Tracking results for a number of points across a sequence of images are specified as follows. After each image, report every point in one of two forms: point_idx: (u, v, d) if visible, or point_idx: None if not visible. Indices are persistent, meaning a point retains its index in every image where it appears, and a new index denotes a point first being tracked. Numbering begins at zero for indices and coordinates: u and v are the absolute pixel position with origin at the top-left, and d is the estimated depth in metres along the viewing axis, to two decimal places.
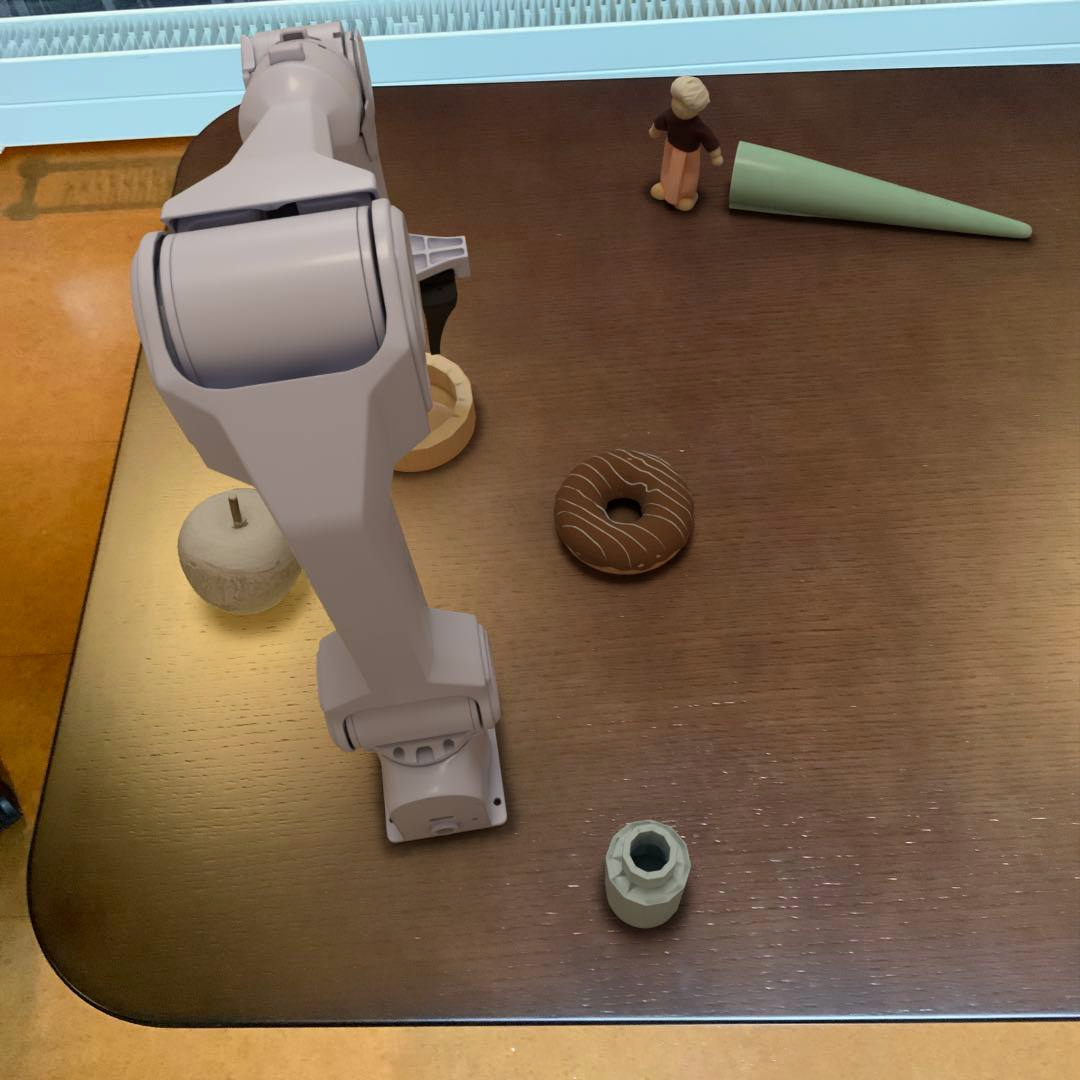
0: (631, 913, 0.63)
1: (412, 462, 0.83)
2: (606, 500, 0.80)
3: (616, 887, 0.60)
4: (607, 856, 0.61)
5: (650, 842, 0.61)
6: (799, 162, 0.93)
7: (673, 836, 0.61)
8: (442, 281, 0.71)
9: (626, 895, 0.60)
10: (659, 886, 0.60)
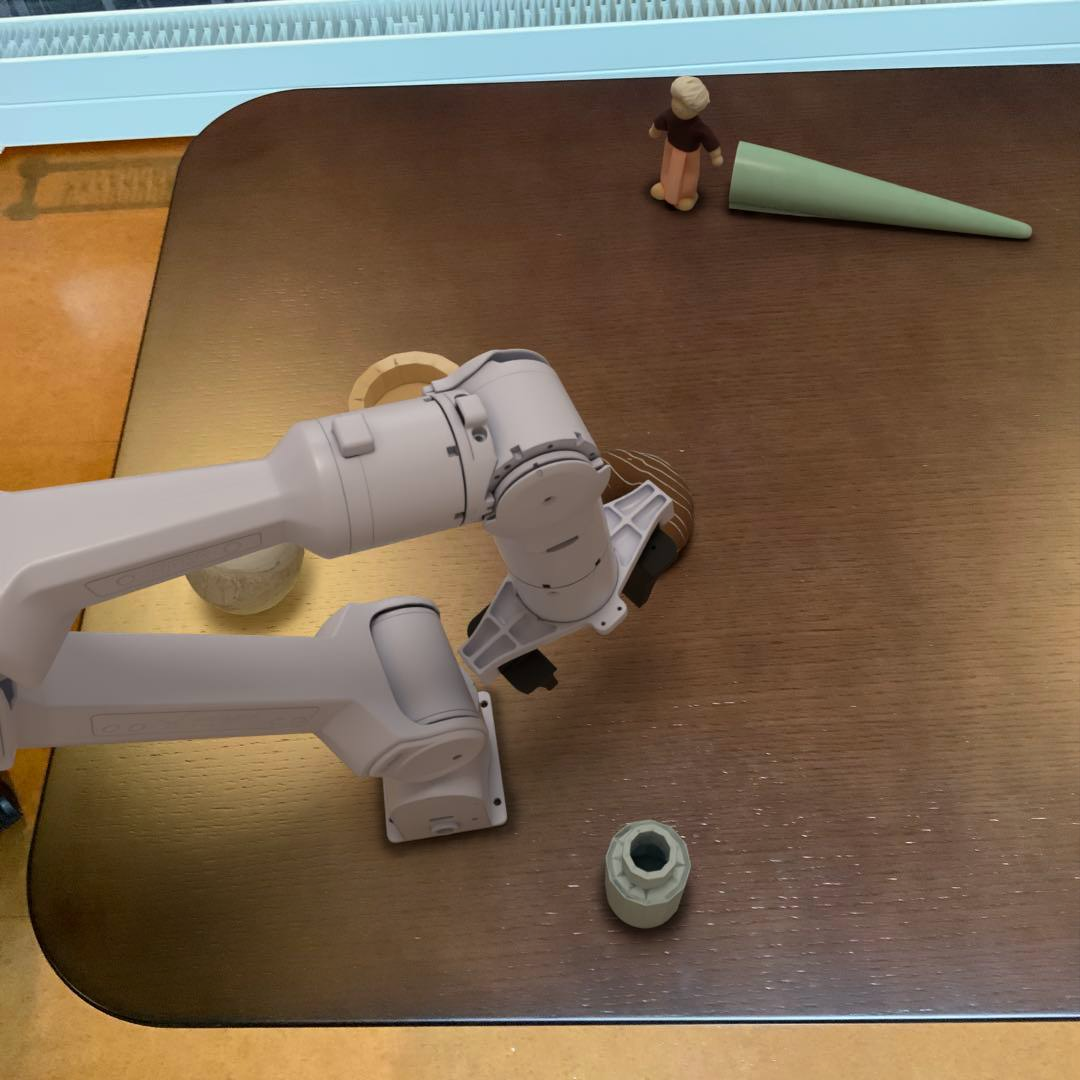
0: (631, 913, 0.63)
1: None
2: (606, 500, 0.80)
3: (616, 887, 0.60)
4: (607, 856, 0.61)
5: (650, 842, 0.61)
6: (799, 162, 0.93)
7: (673, 836, 0.61)
8: None
9: (626, 895, 0.60)
10: (659, 886, 0.60)
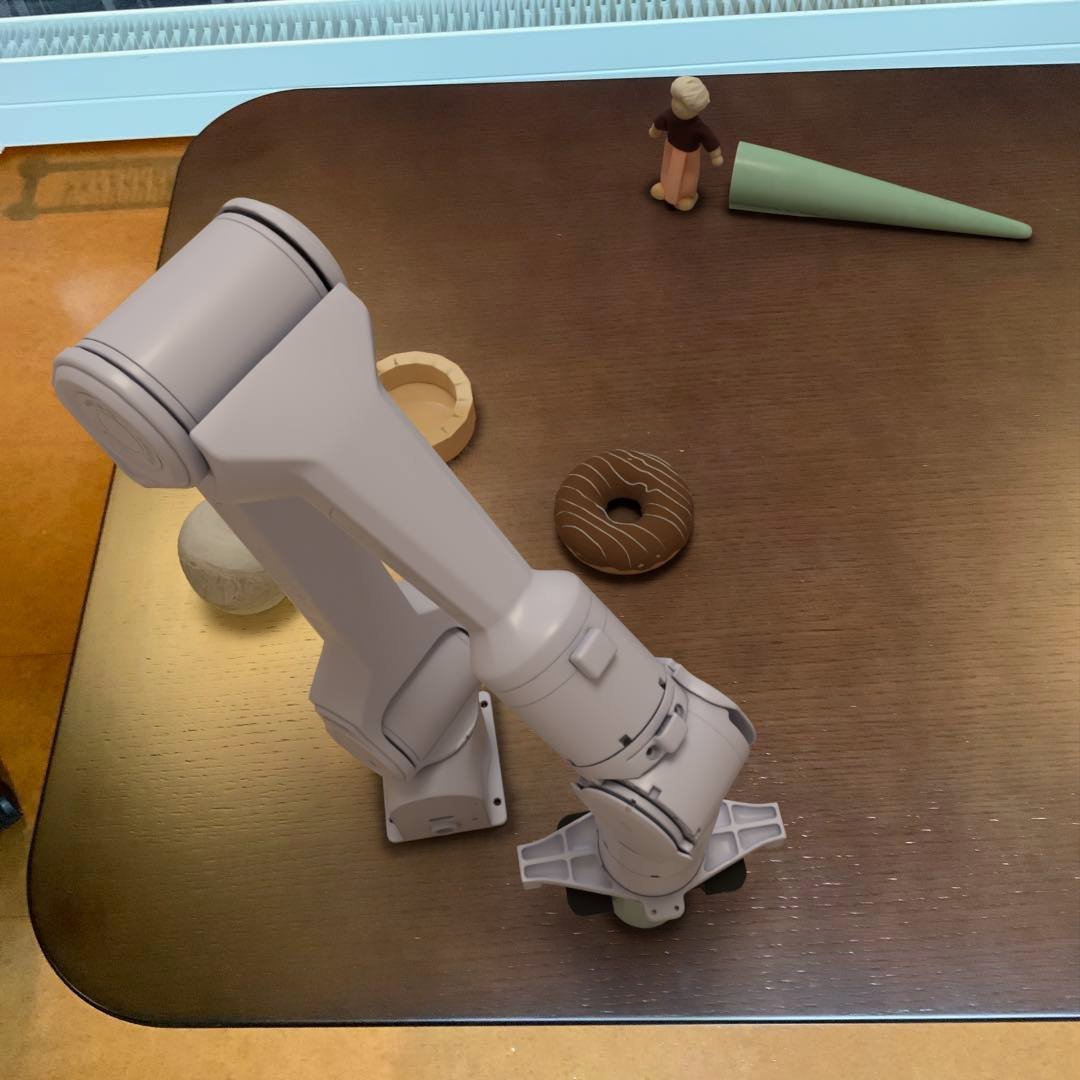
0: (631, 913, 0.63)
1: None
2: (606, 500, 0.80)
3: None
4: None
5: None
6: (799, 162, 0.93)
7: None
8: None
9: None
10: None
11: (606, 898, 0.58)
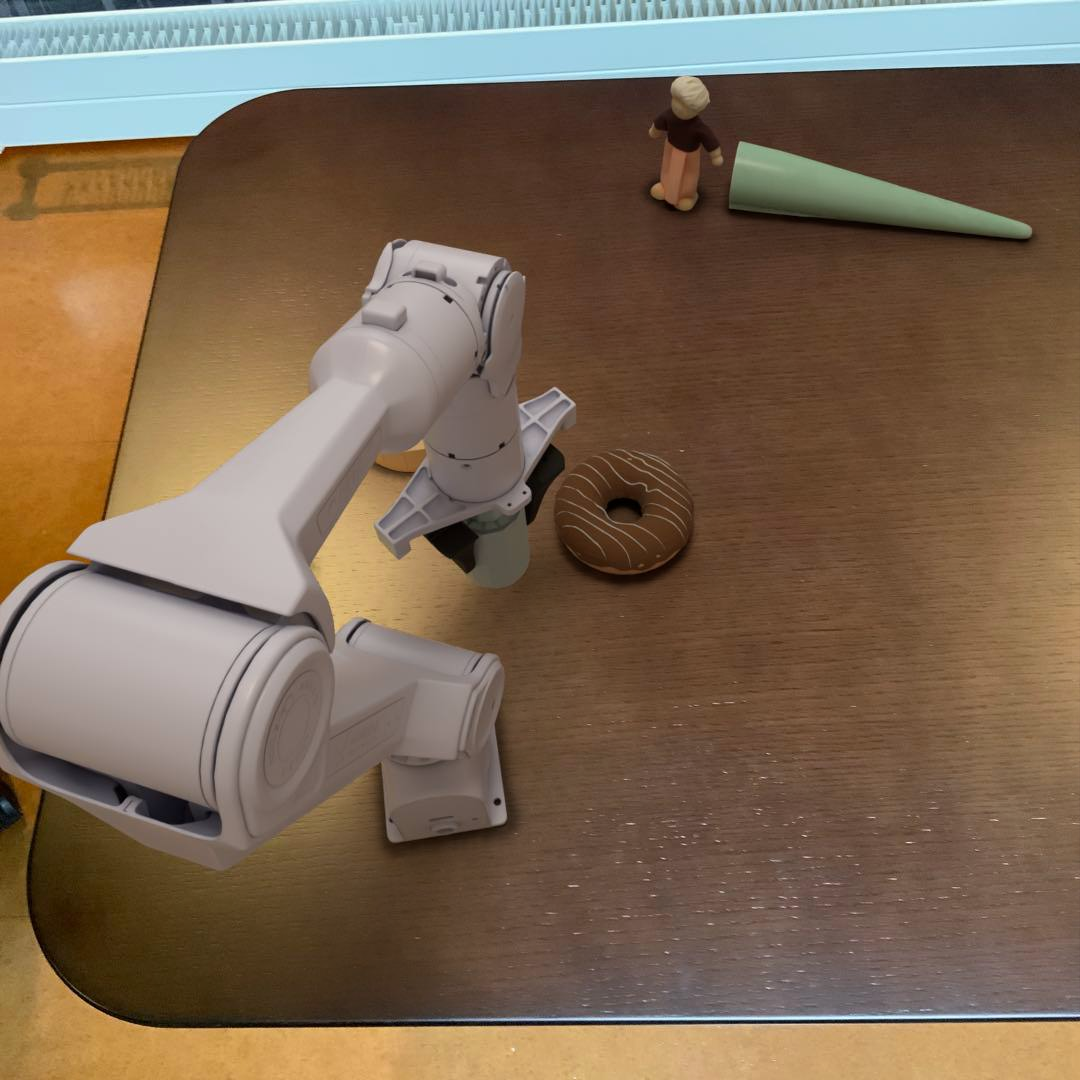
0: (495, 561, 0.69)
1: (412, 462, 0.83)
2: (606, 500, 0.80)
3: None
4: None
5: None
6: (799, 162, 0.93)
7: None
8: None
9: (483, 533, 0.66)
10: None
11: (467, 531, 0.64)
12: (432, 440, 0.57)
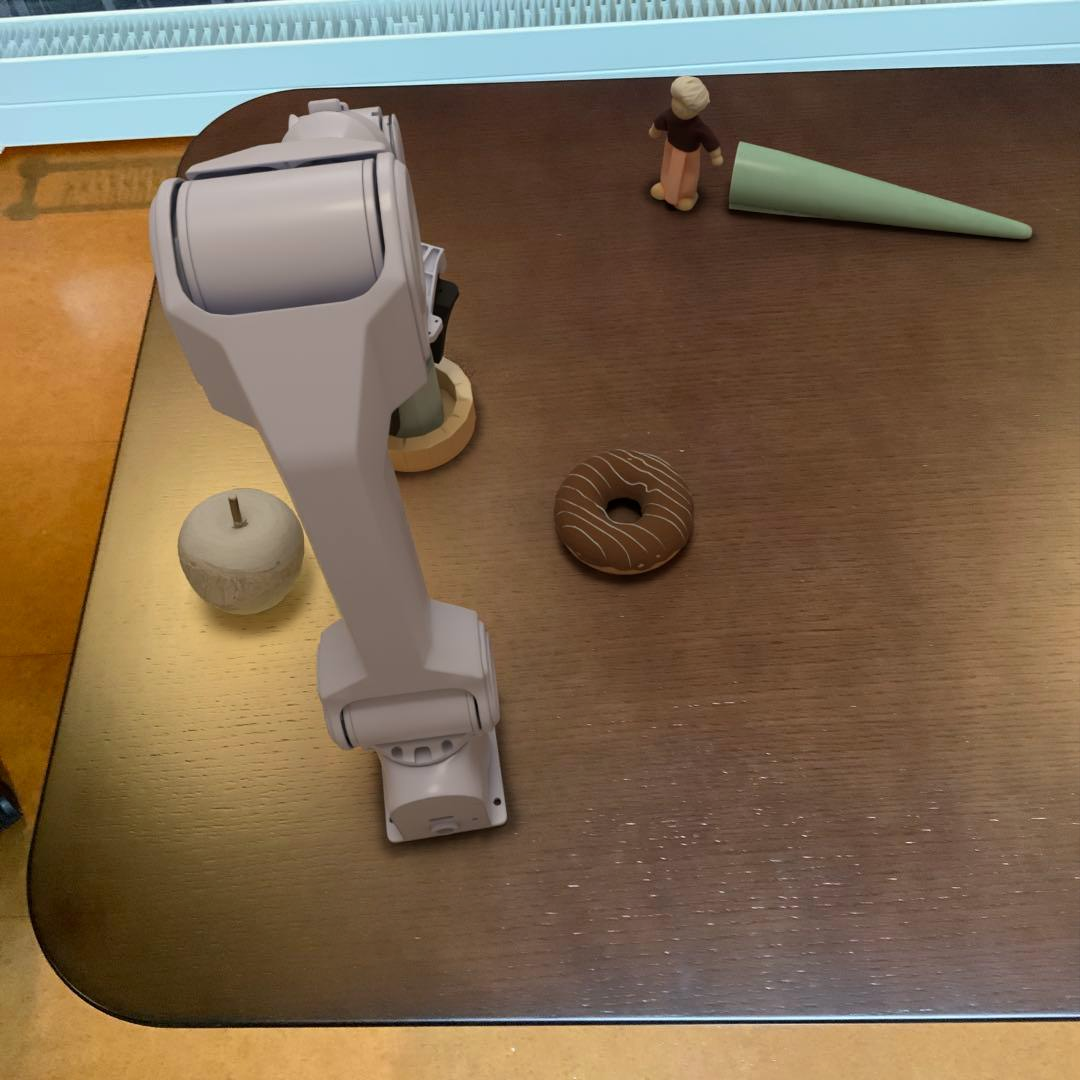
0: (423, 408, 0.82)
1: (412, 462, 0.83)
2: (606, 500, 0.80)
3: None
4: None
5: None
6: (799, 163, 0.93)
7: None
8: None
9: None
10: None
11: None
12: None
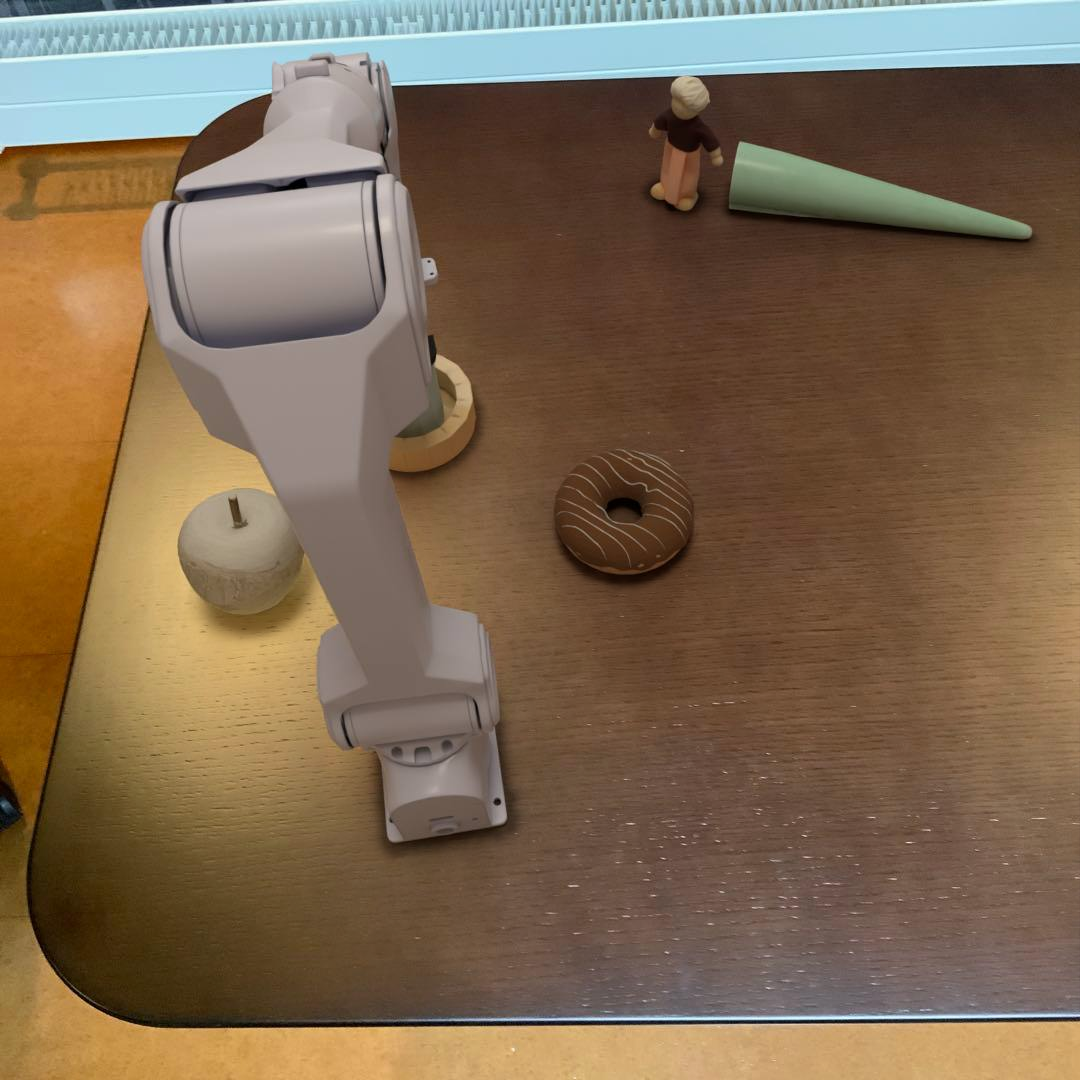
0: None
1: (412, 462, 0.83)
2: (606, 500, 0.80)
3: None
4: None
5: None
6: (799, 163, 0.93)
7: None
8: None
9: None
10: None
11: None
12: None
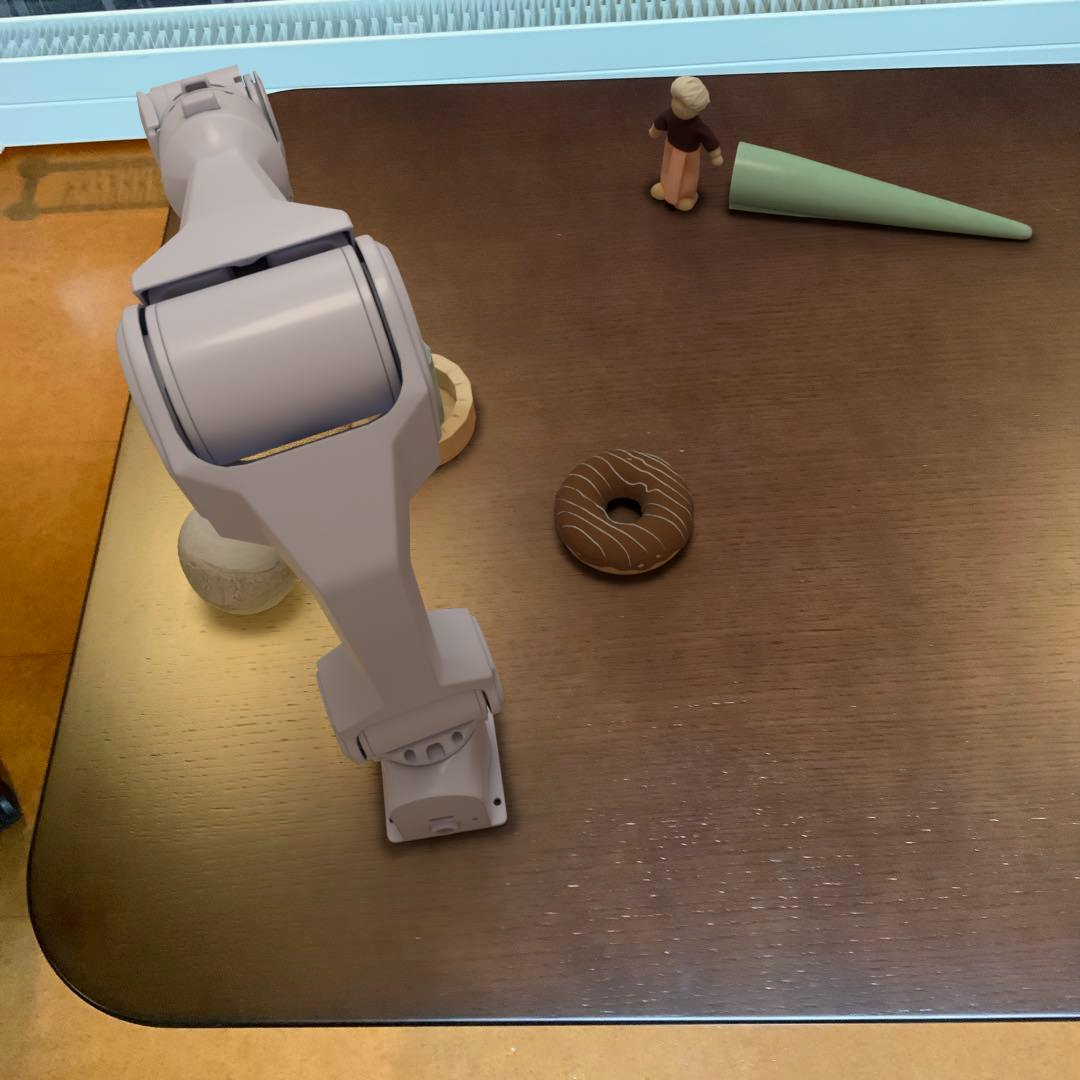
0: None
1: None
2: (606, 500, 0.80)
3: None
4: None
5: None
6: (799, 163, 0.93)
7: None
8: None
9: None
10: None
11: None
12: None
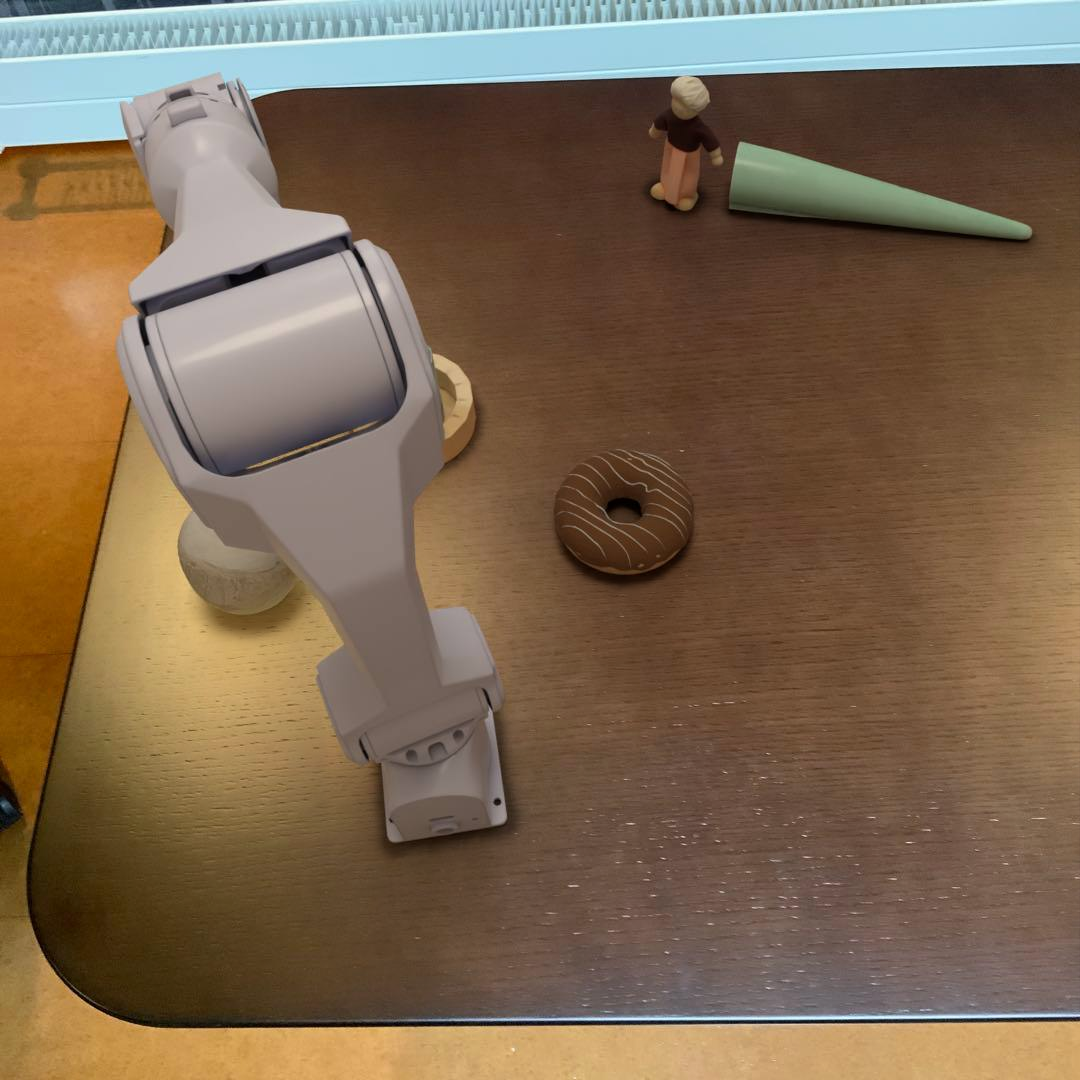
0: None
1: None
2: (606, 500, 0.80)
3: None
4: None
5: None
6: (799, 163, 0.93)
7: None
8: None
9: None
10: None
11: None
12: None
